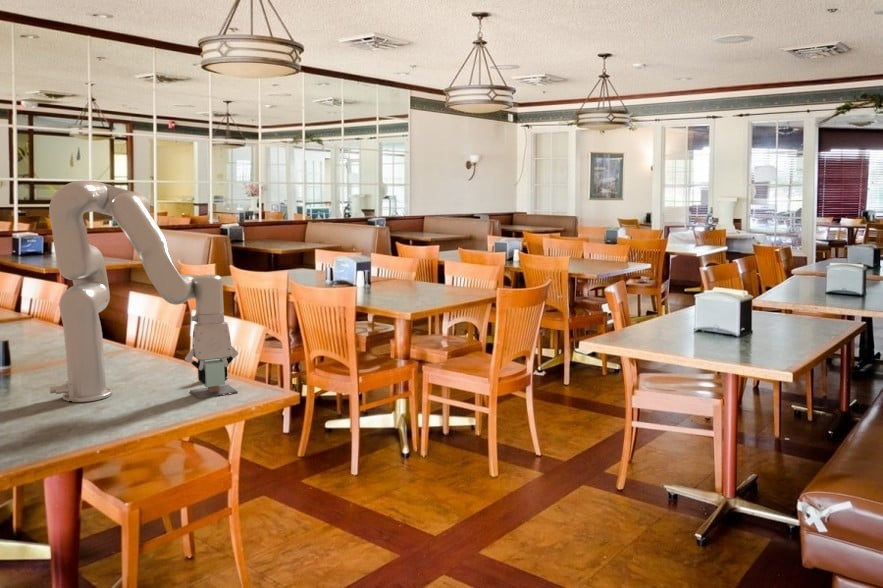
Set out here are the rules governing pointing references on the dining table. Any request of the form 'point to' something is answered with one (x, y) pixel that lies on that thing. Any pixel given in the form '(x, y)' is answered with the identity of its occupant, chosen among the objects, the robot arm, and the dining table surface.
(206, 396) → the thin dark base plate
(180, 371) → the dining table surface
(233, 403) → the dining table surface
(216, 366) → the sage green cube
